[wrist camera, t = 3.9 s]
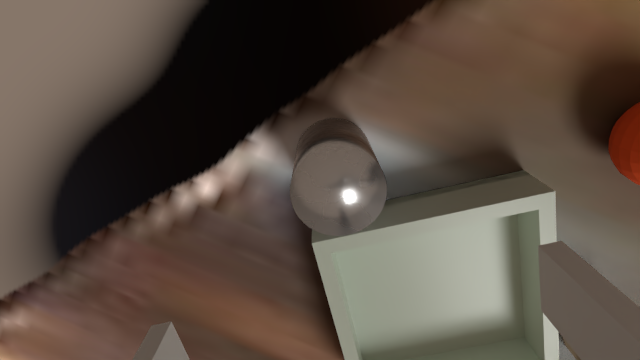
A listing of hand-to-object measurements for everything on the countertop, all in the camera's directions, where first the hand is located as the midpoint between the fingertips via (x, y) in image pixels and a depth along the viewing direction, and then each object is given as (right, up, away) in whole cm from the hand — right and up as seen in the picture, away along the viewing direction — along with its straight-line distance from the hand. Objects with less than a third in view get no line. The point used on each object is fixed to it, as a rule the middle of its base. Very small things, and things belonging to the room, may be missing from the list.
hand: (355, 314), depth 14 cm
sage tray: (+9, -5, +22) cm, 24 cm away
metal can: (0, +7, +18) cm, 19 cm away
